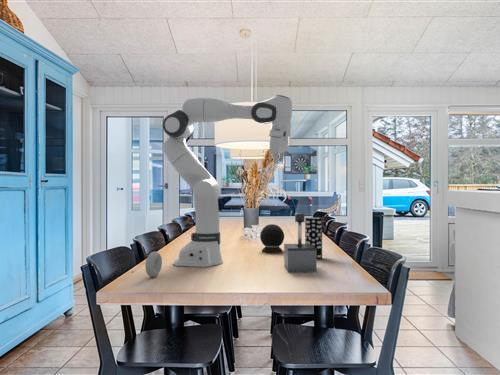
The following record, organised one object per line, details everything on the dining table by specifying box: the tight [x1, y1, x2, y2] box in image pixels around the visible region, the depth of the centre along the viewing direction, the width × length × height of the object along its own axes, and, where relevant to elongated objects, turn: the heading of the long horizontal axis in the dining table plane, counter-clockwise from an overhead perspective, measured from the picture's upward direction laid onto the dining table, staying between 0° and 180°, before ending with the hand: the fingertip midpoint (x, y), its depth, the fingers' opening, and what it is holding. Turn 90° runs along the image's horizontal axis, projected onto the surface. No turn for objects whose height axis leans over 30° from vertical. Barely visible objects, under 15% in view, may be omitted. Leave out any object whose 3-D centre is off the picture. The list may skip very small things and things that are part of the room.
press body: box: [283, 243, 318, 273], centre depth 160 cm, size 12×12×10 cm
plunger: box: [294, 212, 306, 247], centre depth 160 cm, size 8×8×17 cm
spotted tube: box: [304, 216, 323, 261], centre depth 184 cm, size 8×8×20 cm
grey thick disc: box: [144, 251, 163, 278], centre depth 146 cm, size 10×3×10 cm, turn 168°
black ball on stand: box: [259, 223, 285, 254], centre depth 203 cm, size 13×13×15 cm
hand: (278, 162), depth 170 cm, fingers open, 8 cm apart
